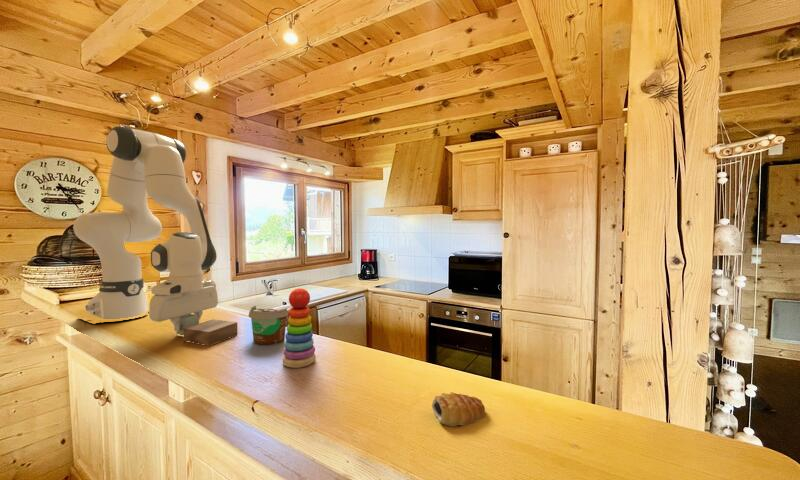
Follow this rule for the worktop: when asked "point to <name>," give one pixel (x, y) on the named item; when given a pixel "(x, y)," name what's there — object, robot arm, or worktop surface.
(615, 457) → the worktop surface
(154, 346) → the worktop surface
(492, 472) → the worktop surface
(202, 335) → the walnut base
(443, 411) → the pastry
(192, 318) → the blue-grey block
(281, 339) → the food container
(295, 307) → the stacking toy
